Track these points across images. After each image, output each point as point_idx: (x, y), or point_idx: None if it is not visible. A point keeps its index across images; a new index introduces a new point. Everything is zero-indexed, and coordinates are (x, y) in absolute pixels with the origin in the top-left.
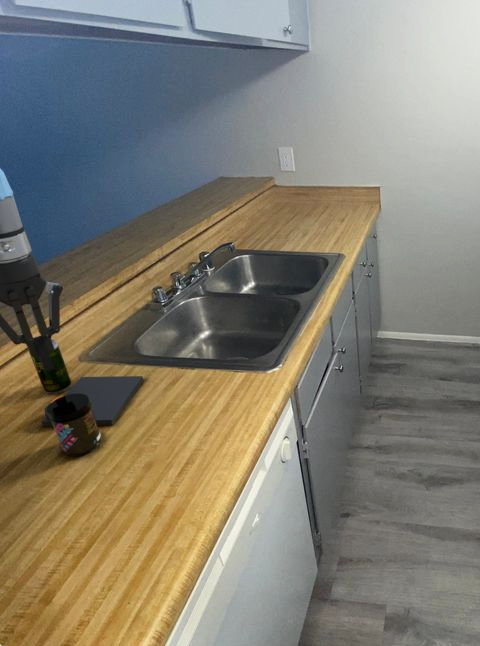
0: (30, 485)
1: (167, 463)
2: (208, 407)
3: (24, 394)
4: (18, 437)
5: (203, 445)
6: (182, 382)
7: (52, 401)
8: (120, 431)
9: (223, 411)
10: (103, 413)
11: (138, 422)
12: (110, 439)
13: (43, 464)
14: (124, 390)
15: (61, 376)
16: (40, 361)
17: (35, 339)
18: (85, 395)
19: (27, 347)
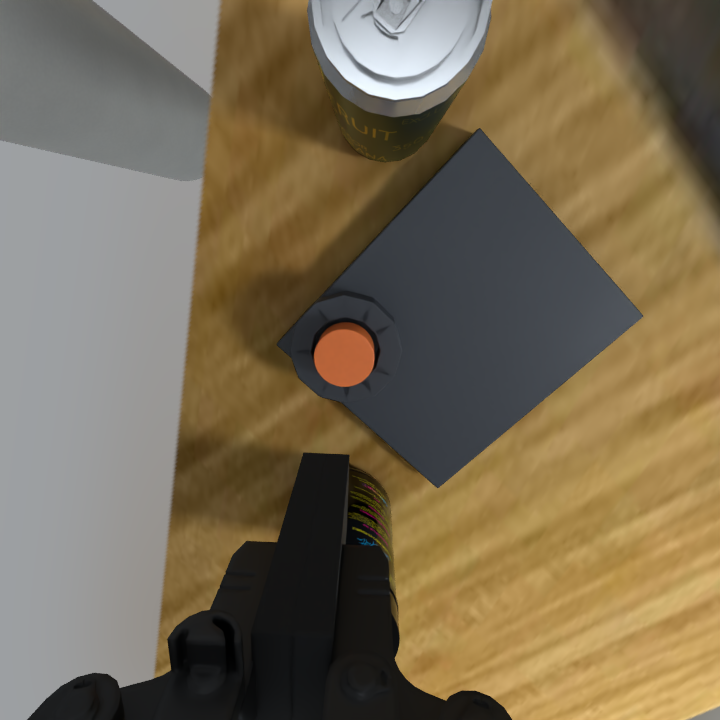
0: (209, 551)
1: (459, 680)
2: (658, 584)
3: (271, 53)
4: (212, 341)
5: (547, 686)
6: (705, 421)
7: (321, 345)
8: (436, 515)
9: (669, 623)
10: (435, 442)
11: (489, 513)
12: (403, 527)
13: (246, 504)
14: (545, 364)
15: (408, 147)
16: (297, 476)
17: (275, 673)
18: (395, 630)
19: (214, 603)
